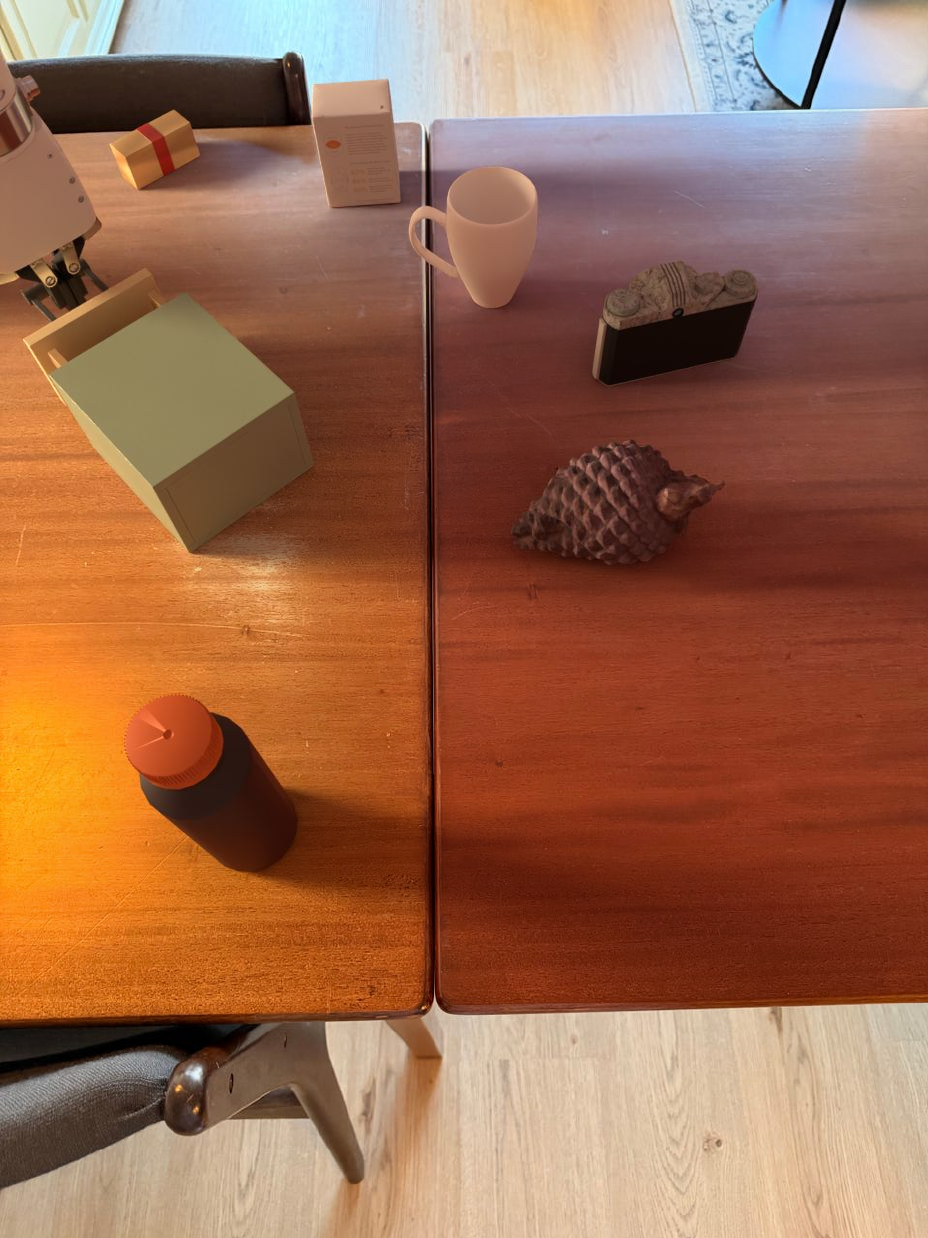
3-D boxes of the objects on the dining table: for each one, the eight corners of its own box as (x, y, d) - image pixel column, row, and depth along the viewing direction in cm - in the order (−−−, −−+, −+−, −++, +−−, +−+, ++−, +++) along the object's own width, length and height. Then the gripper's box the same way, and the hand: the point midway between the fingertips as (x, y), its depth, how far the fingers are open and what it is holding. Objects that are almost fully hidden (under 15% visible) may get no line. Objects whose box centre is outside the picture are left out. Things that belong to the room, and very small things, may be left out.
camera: (717, 308, 90) (742, 223, 81) (744, 358, 87) (773, 275, 78) (576, 339, 88) (586, 256, 80) (598, 391, 85) (611, 310, 77)
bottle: (195, 864, 66) (87, 783, 48) (223, 776, 69) (131, 669, 51) (284, 881, 65) (208, 805, 47) (309, 791, 68) (245, 688, 50)
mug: (531, 263, 93) (536, 163, 83) (534, 322, 90) (539, 225, 80) (416, 265, 94) (407, 166, 84) (413, 324, 90) (403, 227, 80)
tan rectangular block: (122, 176, 101) (108, 142, 98) (184, 142, 104) (173, 108, 100) (138, 190, 100) (125, 156, 96) (200, 156, 103) (190, 121, 99)
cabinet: (93, 447, 84) (47, 373, 75) (215, 369, 88) (185, 290, 79) (189, 553, 78) (152, 487, 70) (315, 465, 82) (294, 391, 74)
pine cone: (527, 611, 75) (492, 507, 70) (525, 552, 83) (494, 455, 78) (743, 559, 71) (724, 445, 66) (719, 502, 79) (700, 397, 74)
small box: (399, 170, 101) (390, 76, 91) (401, 204, 98) (392, 111, 89) (327, 174, 101) (311, 81, 91) (327, 208, 98) (310, 116, 89)
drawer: (22, 358, 88) (-18, 295, 81) (132, 293, 92) (102, 227, 84) (145, 492, 80) (112, 436, 73) (259, 416, 84) (238, 355, 77)
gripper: (39, 56, 72) (122, 247, 88) (-137, 141, 67) (-16, 324, 84) (88, 99, 69) (164, 287, 85) (-92, 189, 65) (25, 369, 81)
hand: (75, 305), depth 84 cm, fingers closed
